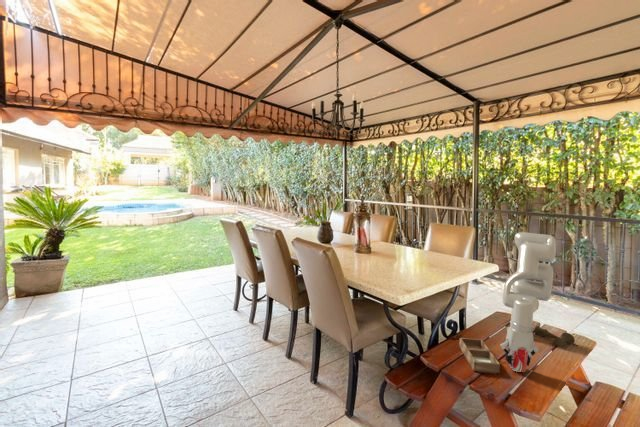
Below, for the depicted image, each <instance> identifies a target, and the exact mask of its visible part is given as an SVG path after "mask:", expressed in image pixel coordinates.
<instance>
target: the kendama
mask: <svg viewBox="0 0 640 427" xmlns="http://www.w3.org/2000/svg"><path fill="white" fill-rule="evenodd" d="M533 334H534V335H541V337H543V338H545V337H546V338H551V339H553V343H554V345H555V346H556V347H557V348H560V349H565V348H566V347H567V344H568V345H572V346H574V347H579V344H576V343H575V341H576V340H575V337H574V336H573V335H572V334H571V333H569V332H562V334H561V335H560V336H557V335H555V334H554V333H551V332H550V331H548V329H546V328H545V329H543V328H542V327H541V326H540V325H536V326H535V328H534V332H533Z"/></svg>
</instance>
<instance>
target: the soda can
mask: <svg viewBox="0 0 640 427" xmlns="http://www.w3.org/2000/svg"><path fill="white" fill-rule="evenodd" d="M511 356H512V360H511V364H509V363H508V367H509V369H510V370H511V371H513V372H515V371H516V372H515V373H517V372H523V373H525V372H526V371H527V368H528V367H527V359H528V351H527V350H526V348H525V349H522V348H518V349H517V350H515V351H513V353H512V354H511Z"/></svg>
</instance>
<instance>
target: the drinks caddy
mask: <svg viewBox="0 0 640 427" xmlns="http://www.w3.org/2000/svg"><path fill="white" fill-rule="evenodd" d="M458 341H459V342H458V346H459V348H460V350H461V352H462V354H463V355H464V357H465V359H466V361H467V362H468V364H469V366H470V367H471V369H472V371H473V372H474V371H478V372H477V373H487V374H496V373H499V374H500V373H501V364H500V362H499V360H497V358H496V356H495V355H494V354H493V353H492V352H491V350H490V349H489V348H488V346H487V344H486V343H485V342H484V340H483V339H481V338H467V337H459V338H458Z"/></svg>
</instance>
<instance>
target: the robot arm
mask: <svg viewBox="0 0 640 427" xmlns="http://www.w3.org/2000/svg"><path fill="white" fill-rule="evenodd" d="M514 243H515V245H516V247H517V250H518V256H517V264H516V265H517V266H516V271H515V272H514V273H513V274H511V275H510V276H509V277H508V278H507V279H506V280H505V282H504V287H503V292H502V304H503V305H504V306H505V307H507V308H510V309H511V317H510V321H509V324H510V326H507V327H506V337H505V341H504V342H502V343H500V344H499V347H500V348H501V349H502V350H503V351H504V352H505V360H506V362H507V363H508V365H509V364H511V360H512V356H511V354H512V353H513V351H515V350H517V349H518V348H522V349H525V348H526V350H527V351H528V359H527V366H530V363H531V360H532V359H531V358H533V356H534V355H535V354H536V353H537V352H538V351H539V350H540V348H538V347H537V346H536V345H535V344H534V332H533V329H535V327H536V326H535V324H533V318H534V313H535V312H536V311H538V309H539V307H540V302H539V301H542V302H543V301H544V302H546V301H547V302H548V301H549V300H550V299H551V296H552V288H553V281H554V268H553V266H552V265H550V264H549V263H552V262H554V261H555V259H556V252H557V250H556V249H557V247H556V246H557V245H556V238H555V237H554V236H553V235H550V234H545V233H544V234H543V233H534V232H532V233H531V232H523V231H521V232H517V233H515V235H514ZM533 280H534V281H533ZM511 289H512V291H511Z"/></svg>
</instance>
